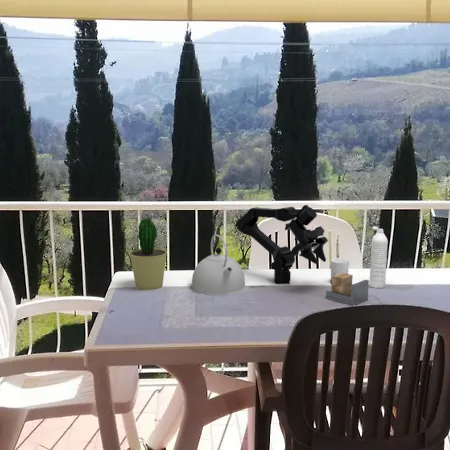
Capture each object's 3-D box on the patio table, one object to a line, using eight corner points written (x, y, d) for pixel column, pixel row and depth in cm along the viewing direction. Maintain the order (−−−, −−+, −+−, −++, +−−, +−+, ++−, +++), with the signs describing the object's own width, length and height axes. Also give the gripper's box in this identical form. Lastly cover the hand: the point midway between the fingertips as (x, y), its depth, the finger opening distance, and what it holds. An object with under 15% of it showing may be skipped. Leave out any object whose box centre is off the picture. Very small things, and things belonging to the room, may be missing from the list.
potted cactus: (165, 291, 227) (163, 220, 221) (127, 291, 227) (125, 219, 222) (169, 281, 242) (168, 213, 236) (134, 280, 242) (132, 213, 237)
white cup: (343, 286, 235) (344, 263, 233) (326, 283, 240) (327, 260, 238) (351, 282, 241) (352, 260, 239) (334, 279, 246) (335, 257, 244)
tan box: (328, 294, 220) (329, 275, 219) (338, 290, 225) (339, 272, 224) (342, 298, 216) (343, 278, 214) (351, 294, 221) (352, 275, 219)
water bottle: (387, 287, 234) (391, 229, 229) (374, 288, 232) (377, 230, 227) (377, 281, 242) (380, 226, 237) (363, 283, 240) (366, 226, 235)
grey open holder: (325, 298, 219) (326, 279, 218) (339, 292, 227) (340, 273, 225) (353, 305, 211) (354, 285, 209) (367, 299, 218) (368, 280, 216)
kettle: (256, 293, 226) (256, 239, 222) (203, 299, 218) (203, 244, 213) (232, 277, 249) (233, 228, 244) (184, 282, 241) (184, 231, 236)
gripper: (298, 223, 219) (320, 255, 213) (325, 217, 232) (346, 247, 226) (282, 239, 226) (303, 271, 220) (309, 233, 239) (329, 262, 233)
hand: (321, 262), depth 225 cm, fingers open, 5 cm apart
